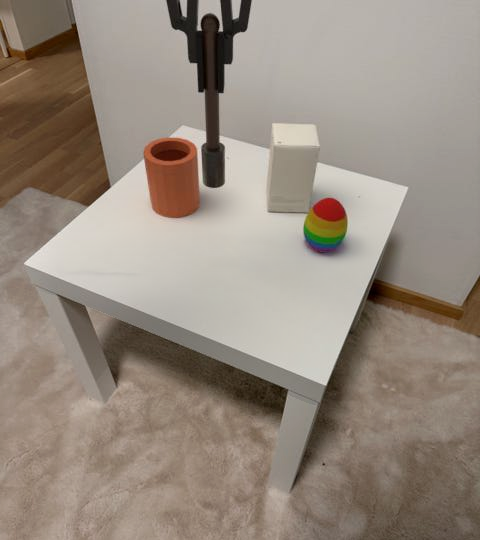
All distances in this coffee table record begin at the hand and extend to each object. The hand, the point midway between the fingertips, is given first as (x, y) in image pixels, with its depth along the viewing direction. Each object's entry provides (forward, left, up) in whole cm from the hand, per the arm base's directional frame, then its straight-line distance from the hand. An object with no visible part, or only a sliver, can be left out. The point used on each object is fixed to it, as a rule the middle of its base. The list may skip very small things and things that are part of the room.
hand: (211, 88), depth 60 cm
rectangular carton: (+15, +19, -31) cm, 39 cm away
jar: (-9, +17, -30) cm, 36 cm away
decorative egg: (+21, +5, -31) cm, 37 cm away
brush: (0, 0, -14) cm, 14 cm away
